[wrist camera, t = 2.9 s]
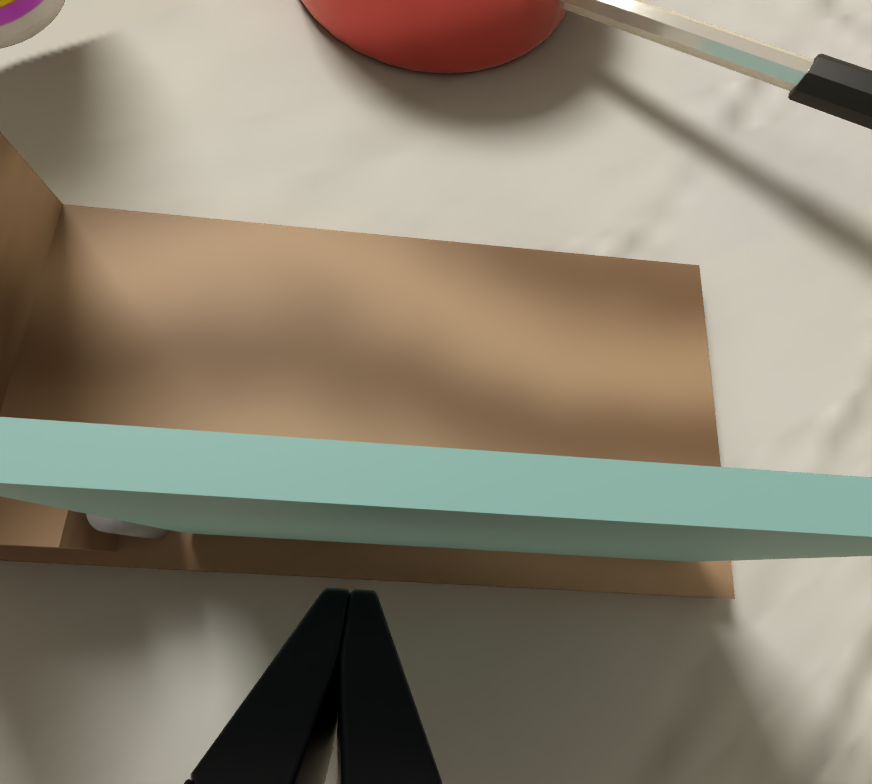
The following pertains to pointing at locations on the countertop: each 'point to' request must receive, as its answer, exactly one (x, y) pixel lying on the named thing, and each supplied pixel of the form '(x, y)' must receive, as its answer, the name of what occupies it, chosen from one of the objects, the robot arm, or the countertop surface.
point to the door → (427, 495)
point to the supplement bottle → (25, 18)
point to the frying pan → (607, 3)
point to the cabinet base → (344, 369)
